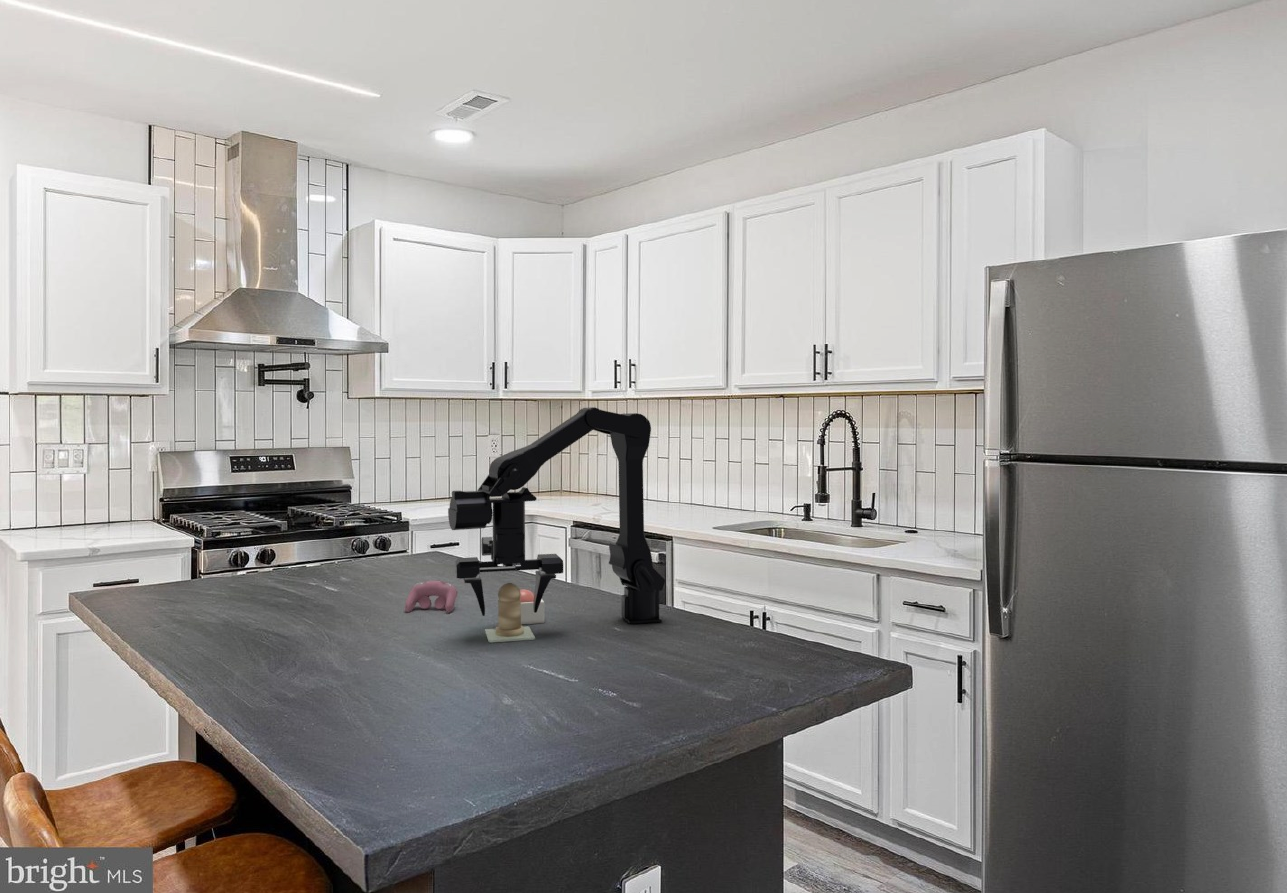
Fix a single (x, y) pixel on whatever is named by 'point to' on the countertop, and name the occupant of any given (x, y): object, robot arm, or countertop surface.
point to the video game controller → (432, 588)
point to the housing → (532, 613)
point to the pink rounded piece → (526, 596)
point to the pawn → (509, 611)
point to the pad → (495, 638)
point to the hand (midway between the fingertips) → (509, 613)
